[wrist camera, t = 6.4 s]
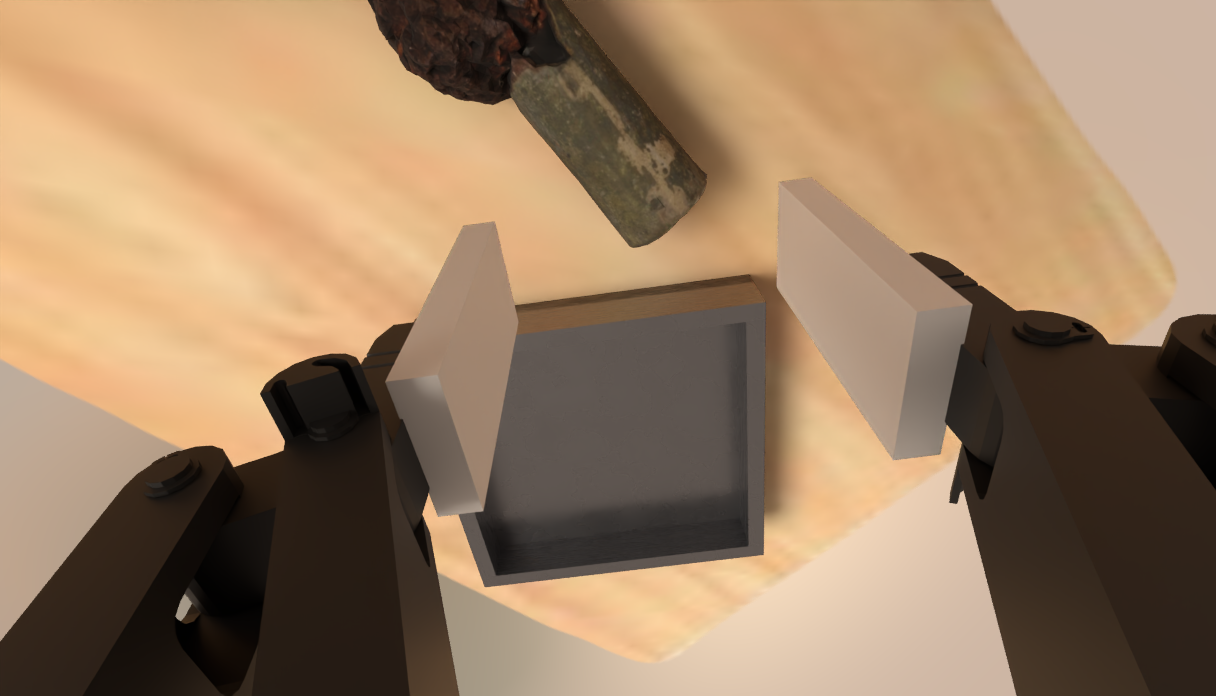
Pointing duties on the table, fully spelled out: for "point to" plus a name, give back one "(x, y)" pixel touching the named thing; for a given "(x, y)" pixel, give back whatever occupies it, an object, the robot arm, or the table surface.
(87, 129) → the table surface
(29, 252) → the table surface
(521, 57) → the metal pipe
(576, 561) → the grey square tray
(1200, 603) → the robot arm
